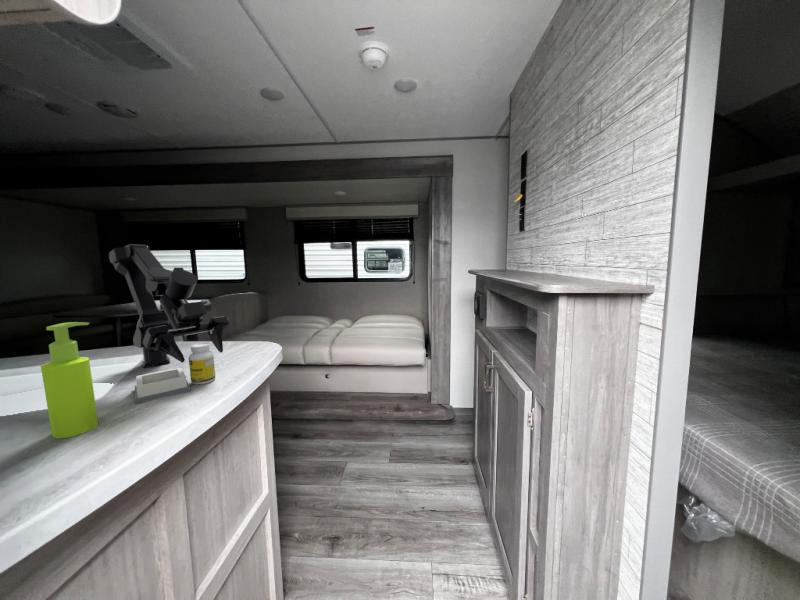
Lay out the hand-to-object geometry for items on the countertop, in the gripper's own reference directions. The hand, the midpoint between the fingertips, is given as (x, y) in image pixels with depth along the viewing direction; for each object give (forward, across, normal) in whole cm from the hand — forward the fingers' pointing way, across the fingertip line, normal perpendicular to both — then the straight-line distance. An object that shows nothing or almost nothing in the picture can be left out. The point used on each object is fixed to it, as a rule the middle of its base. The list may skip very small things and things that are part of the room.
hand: (203, 356), depth 78 cm
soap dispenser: (+7, -24, +3) cm, 25 cm away
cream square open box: (+2, -8, +8) cm, 11 cm away
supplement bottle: (+4, 0, +6) cm, 7 cm away
